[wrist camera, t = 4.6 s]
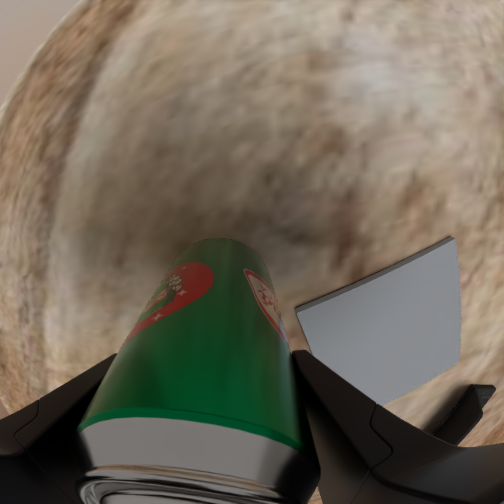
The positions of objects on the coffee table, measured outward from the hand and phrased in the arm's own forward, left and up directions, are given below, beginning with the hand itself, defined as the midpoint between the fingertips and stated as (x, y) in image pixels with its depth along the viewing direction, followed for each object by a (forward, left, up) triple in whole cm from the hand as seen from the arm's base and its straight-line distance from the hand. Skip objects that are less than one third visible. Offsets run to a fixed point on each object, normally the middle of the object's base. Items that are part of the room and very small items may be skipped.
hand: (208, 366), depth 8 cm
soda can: (0, 0, -7) cm, 7 cm away
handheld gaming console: (+15, -27, -9) cm, 32 cm away
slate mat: (+9, -10, -9) cm, 16 cm away
